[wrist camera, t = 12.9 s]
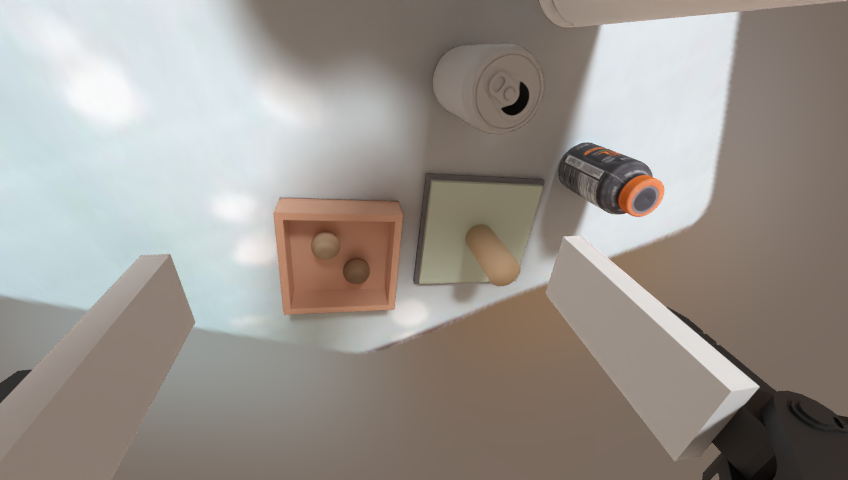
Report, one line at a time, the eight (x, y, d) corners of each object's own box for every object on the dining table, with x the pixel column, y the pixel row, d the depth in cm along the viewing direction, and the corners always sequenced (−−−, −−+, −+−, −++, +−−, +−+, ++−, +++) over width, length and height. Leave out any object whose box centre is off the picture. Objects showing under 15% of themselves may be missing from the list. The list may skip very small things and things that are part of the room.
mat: (426, 173, 39) (427, 175, 39) (542, 179, 43) (544, 180, 42) (413, 280, 46) (414, 283, 46) (514, 278, 50) (516, 280, 49)
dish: (279, 197, 37) (273, 212, 34) (398, 201, 40) (403, 215, 37) (288, 293, 43) (283, 314, 40) (390, 290, 46) (394, 309, 43)
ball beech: (311, 226, 39) (309, 240, 36) (340, 227, 40) (340, 240, 37) (312, 250, 40) (310, 265, 38) (340, 250, 41) (340, 265, 38)
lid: (431, 179, 39) (451, 210, 31) (540, 184, 42) (582, 213, 35) (418, 280, 45) (432, 325, 38) (513, 277, 49) (544, 319, 41)
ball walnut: (342, 252, 41) (342, 267, 38) (369, 252, 42) (371, 266, 39) (342, 274, 43) (342, 290, 40) (368, 274, 43) (370, 289, 41)
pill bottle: (608, 145, 42) (686, 173, 33) (588, 190, 45) (656, 229, 35) (567, 138, 41) (637, 165, 31) (549, 185, 43) (609, 224, 34)
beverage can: (465, 125, 37) (511, 153, 27) (418, 89, 35) (450, 106, 24) (502, 72, 36) (566, 81, 25) (455, 29, 33) (506, 20, 23)
